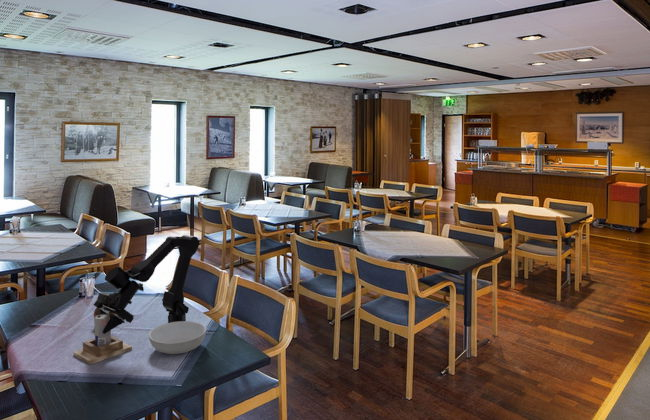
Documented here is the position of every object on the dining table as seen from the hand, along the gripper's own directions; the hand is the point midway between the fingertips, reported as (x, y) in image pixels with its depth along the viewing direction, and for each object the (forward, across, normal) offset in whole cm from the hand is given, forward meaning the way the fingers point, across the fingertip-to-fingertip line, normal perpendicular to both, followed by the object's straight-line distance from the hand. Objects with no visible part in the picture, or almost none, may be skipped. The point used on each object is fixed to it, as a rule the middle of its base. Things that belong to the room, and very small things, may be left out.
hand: (99, 331), depth 180 cm
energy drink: (+4, 0, +6) cm, 7 cm away
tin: (-7, -28, +20) cm, 35 cm away
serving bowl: (-8, +18, +21) cm, 29 cm away
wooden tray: (+5, 0, +7) cm, 9 cm away
